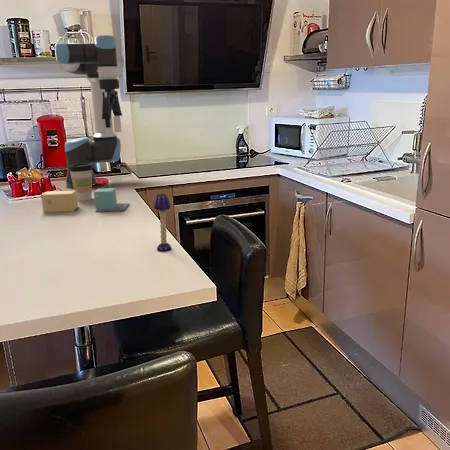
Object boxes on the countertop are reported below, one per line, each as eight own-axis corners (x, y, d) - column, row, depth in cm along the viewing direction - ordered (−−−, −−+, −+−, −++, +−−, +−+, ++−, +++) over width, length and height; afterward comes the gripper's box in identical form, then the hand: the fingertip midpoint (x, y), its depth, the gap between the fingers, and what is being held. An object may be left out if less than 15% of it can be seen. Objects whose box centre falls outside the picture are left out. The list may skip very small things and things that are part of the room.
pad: (102, 205, 192) (102, 203, 192) (129, 204, 192) (129, 203, 192) (95, 212, 181) (95, 210, 181) (123, 211, 181) (123, 209, 181)
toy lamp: (175, 247, 138) (171, 192, 133) (170, 252, 133) (166, 196, 129) (160, 246, 139) (156, 192, 134) (154, 252, 135) (150, 195, 130)
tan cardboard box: (49, 208, 190) (46, 191, 188) (79, 207, 190) (77, 190, 188) (43, 212, 184) (40, 194, 182) (74, 211, 184) (72, 193, 182)
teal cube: (99, 205, 189) (97, 188, 187) (116, 205, 189) (115, 188, 187) (95, 209, 184) (93, 191, 182) (113, 208, 183) (111, 191, 181)
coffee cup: (89, 202, 199) (85, 167, 194) (68, 201, 201) (63, 167, 196) (99, 196, 208) (96, 163, 204) (79, 196, 210) (75, 163, 206)
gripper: (107, 78, 192) (112, 130, 198) (89, 78, 168) (95, 138, 174) (125, 78, 192) (130, 130, 198) (110, 78, 168) (115, 137, 174)
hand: (114, 134), depth 186 cm, fingers open, 13 cm apart
